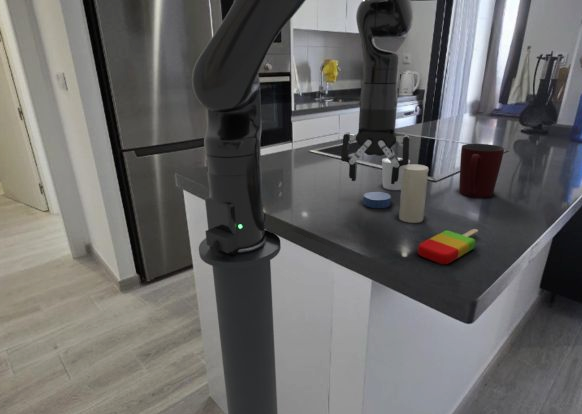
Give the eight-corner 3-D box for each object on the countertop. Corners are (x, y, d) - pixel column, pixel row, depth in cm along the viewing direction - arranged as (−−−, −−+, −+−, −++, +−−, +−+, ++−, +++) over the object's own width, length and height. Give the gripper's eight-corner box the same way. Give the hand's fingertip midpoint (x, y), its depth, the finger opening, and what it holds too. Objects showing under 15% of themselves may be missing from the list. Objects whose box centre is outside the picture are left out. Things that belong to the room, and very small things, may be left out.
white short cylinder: (393, 192, 92) (396, 164, 90) (374, 185, 98) (376, 159, 95) (413, 187, 96) (416, 160, 93) (394, 181, 101) (396, 155, 99)
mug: (488, 205, 83) (497, 155, 79) (447, 198, 88) (453, 150, 84) (499, 191, 92) (507, 146, 88) (461, 185, 97) (467, 142, 93)
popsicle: (414, 254, 62) (415, 244, 61) (461, 230, 71) (462, 220, 70) (445, 267, 58) (446, 256, 57) (490, 239, 67) (492, 229, 66)
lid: (374, 197, 89) (374, 189, 88) (396, 203, 85) (396, 195, 84) (357, 203, 85) (358, 195, 84) (379, 210, 81) (379, 202, 80)
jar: (418, 224, 73) (423, 171, 70) (394, 219, 76) (398, 167, 72) (427, 217, 77) (432, 166, 73) (404, 212, 80) (408, 163, 76)
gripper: (414, 105, 80) (406, 179, 86) (347, 103, 84) (344, 174, 89) (413, 109, 73) (405, 189, 79) (340, 106, 77) (338, 183, 83)
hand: (373, 181), depth 84 cm, fingers open, 8 cm apart
